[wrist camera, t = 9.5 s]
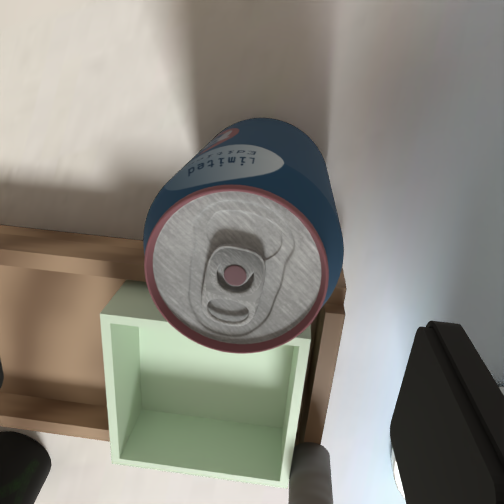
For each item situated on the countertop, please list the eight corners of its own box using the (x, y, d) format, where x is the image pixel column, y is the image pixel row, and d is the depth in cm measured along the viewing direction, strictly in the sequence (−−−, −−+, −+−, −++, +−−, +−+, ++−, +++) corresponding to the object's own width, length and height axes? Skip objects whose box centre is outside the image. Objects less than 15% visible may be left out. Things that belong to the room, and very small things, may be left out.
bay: (353, 263, 26) (374, 347, 18) (321, 433, 31) (327, 549, 24) (-30, 221, 27) (-154, 283, 20) (4, 390, 33) (-83, 488, 25)
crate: (309, 293, 25) (311, 339, 21) (289, 428, 30) (287, 488, 25) (131, 273, 26) (99, 313, 22) (137, 408, 30) (111, 463, 26)
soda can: (213, 101, 23) (134, 140, 12) (342, 131, 23) (381, 197, 12) (193, 222, 26) (116, 343, 15) (308, 249, 26) (314, 389, 15)
